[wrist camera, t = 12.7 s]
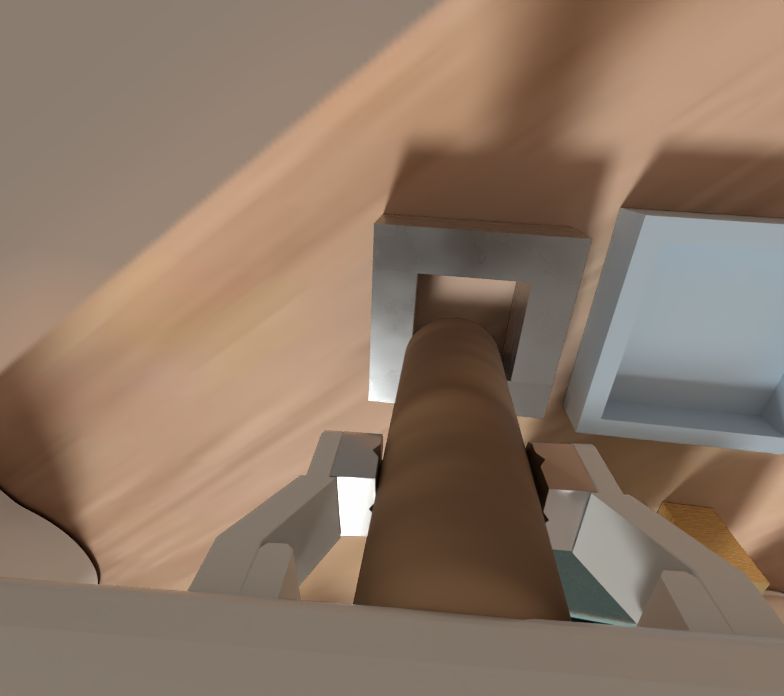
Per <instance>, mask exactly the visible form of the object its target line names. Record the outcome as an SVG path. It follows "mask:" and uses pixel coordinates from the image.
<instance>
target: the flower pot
mask: <svg viewBox="0 0 784 696" xmlns="http://www.w3.org/2000/svg"><path fill="white" fill-rule="evenodd" d="M553 553H554V557H555V560H556V564H557V568H558V572H559V575H560V579H561V583H562V586H563V590H564V594H565V597H566V601H567V605H568V608H569V612H570V616H571V620H572V622H583V623H596V624H609V625H622V626H635V627H636V625H637V623H636V622H635V621H634V620H633V619H632V618H631V617H630V616H629V615H628V614H627V612H626V611H625V610H624V609H623V608H622V607H621V606H620V605H619V604H618V603H617V601H616V600H615V599H614V598H613V597H612V596H611V595H610V594H609V593H608V592H607V590H606V589H605V588H604V587H603V586H602V585H601V584H600V583H599V582H598V581H597V579H596V578H595V577H594V576H593V575H592V574H591V573H590V572H589V571H588V570H587V568H586V567H585V566H584V565H583V564H582V563H581V562H580V561H579V560H578V559H577V557H576V556H575V555H574V554H573V551H565V550H555V549H553Z"/></svg>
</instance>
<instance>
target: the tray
mask: <svg viewBox="0 0 784 696" xmlns="http://www.w3.org/2000/svg"><path fill="white" fill-rule="evenodd" d="M563 407H564V409H565V411H566V413H567V415H568V418H569V420H570V422H571V424H572V426H573V428H574V430H575V432H576V433H585V434H594V435H604V436H613V437H623V438H632V439H642V440H651V441H660V442H670V443H679V444H689V445H698V446H708V447H717V448H726V449H736V450H745V451H755V452H764V453H774V454H783V455H784V218H772V217H757V216H741V215H726V214H710V213H695V212H680V211H664V210H649V209H634V208H620V211H619V215H618V218H617V221H616V225H615V228H614V232H613V235H612V239H611V242H610V245H609V249H608V252H607V256H606V259H605V263H604V266H603V269H602V273H601V276H600V280H599V283H598V286H597V290H596V293H595V297H594V300H593V304H592V307H591V310H590V314H589V317H588V321H587V324H586V328H585V331H584V334H583V338H582V341H581V345H580V348H579V352H578V355H577V358H576V362H575V365H574V369H573V372H572V376H571V379H570V382H569V386H568V389H567V393H566V396H565V400H564V403H563Z"/></svg>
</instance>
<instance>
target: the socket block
mask: <svg viewBox="0 0 784 696" xmlns="http://www.w3.org/2000/svg"><path fill="white" fill-rule="evenodd" d="M591 242H592V239H591V238H589V237H588V236H586V235H584V234H582V233H580V232H579V231H577V230H575V229H573V228H572V227H565V226H550V225H536V224H521V223H507V222H492V221H478V220H463V219H449V218H434V217H420V216H405V215H391V214H383V215H382V216H381V217H380V218H379V219H378V220H377V221H376V222H375V223H374V243H373V276H372V309H371V342H370V376H369V401H378V402H388V403H395V399H396V394H397V389H398V384H399V380H400V375H401V370H402V365H403V360H404V355H405V351H406V348H407V345H408V343H409V341H410V339H411V338H412V336H413V335H414V326H415V314H416V302H417V290H418V278H419V274H432V275H444V276H457V277H469V278H482V279H494V280H507V281H516V286H515V291H514V297H513V302H512V307H511V312H510V317H509V322H508V327H507V332H506V337H505V342H504V347H503V352H502V354H501V353H499V354H500V357H501V361H502V365H503V368H504V372H505V376H506V379H507V383H508V387H509V390H510V394H511V398H512V402H513V405H514V409H515V413H516V416H522V417H532V418H541V419H544V415H545V411H546V408H547V404H548V400H549V397H550V393H551V389H552V386H553V382H554V378H555V374H556V371H557V367H558V363H559V360H560V356H561V352H562V349H563V345H564V341H565V338H566V334H567V330H568V326H569V323H570V319H571V315H572V312H573V308H574V304H575V301H576V297H577V293H578V290H579V286H580V282H581V278H582V275H583V271H584V267H585V264H586V260H587V256H588V253H589V249H590V245H591Z"/></svg>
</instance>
